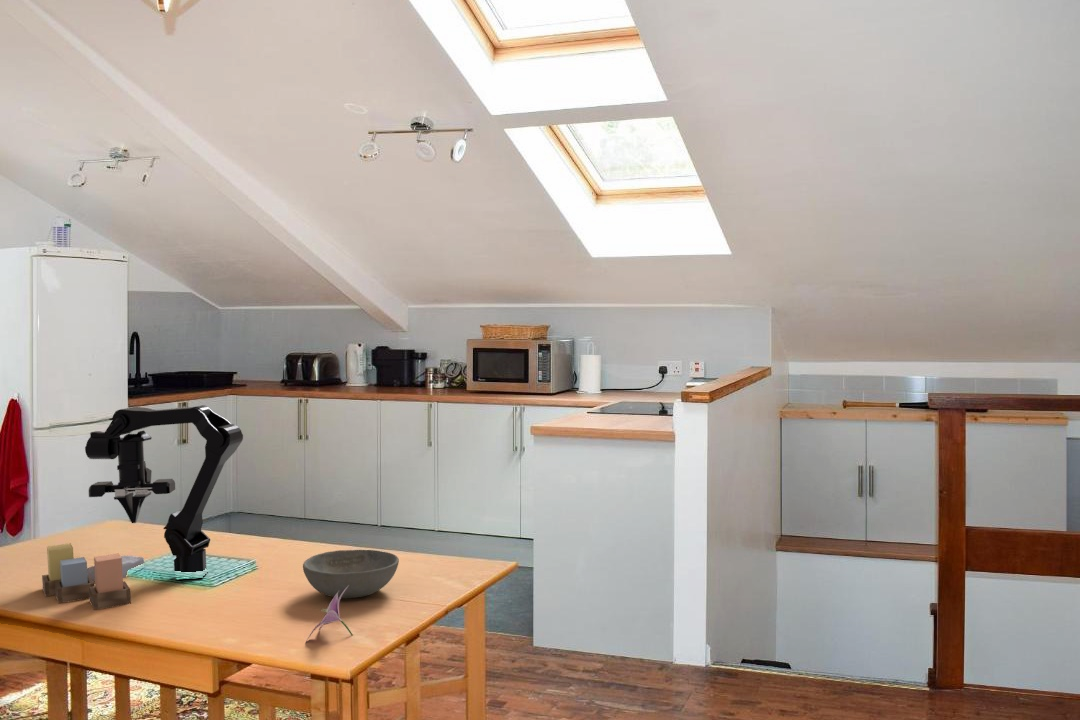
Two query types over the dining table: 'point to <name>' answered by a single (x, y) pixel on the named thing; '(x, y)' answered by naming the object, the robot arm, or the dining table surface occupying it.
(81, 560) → the blue-grey block
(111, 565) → the tan block
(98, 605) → the walnut sockets
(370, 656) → the dining table surface
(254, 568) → the dining table surface
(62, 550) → the ochre block
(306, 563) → the bowl
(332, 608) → the lily
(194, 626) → the dining table surface
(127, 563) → the stone block
